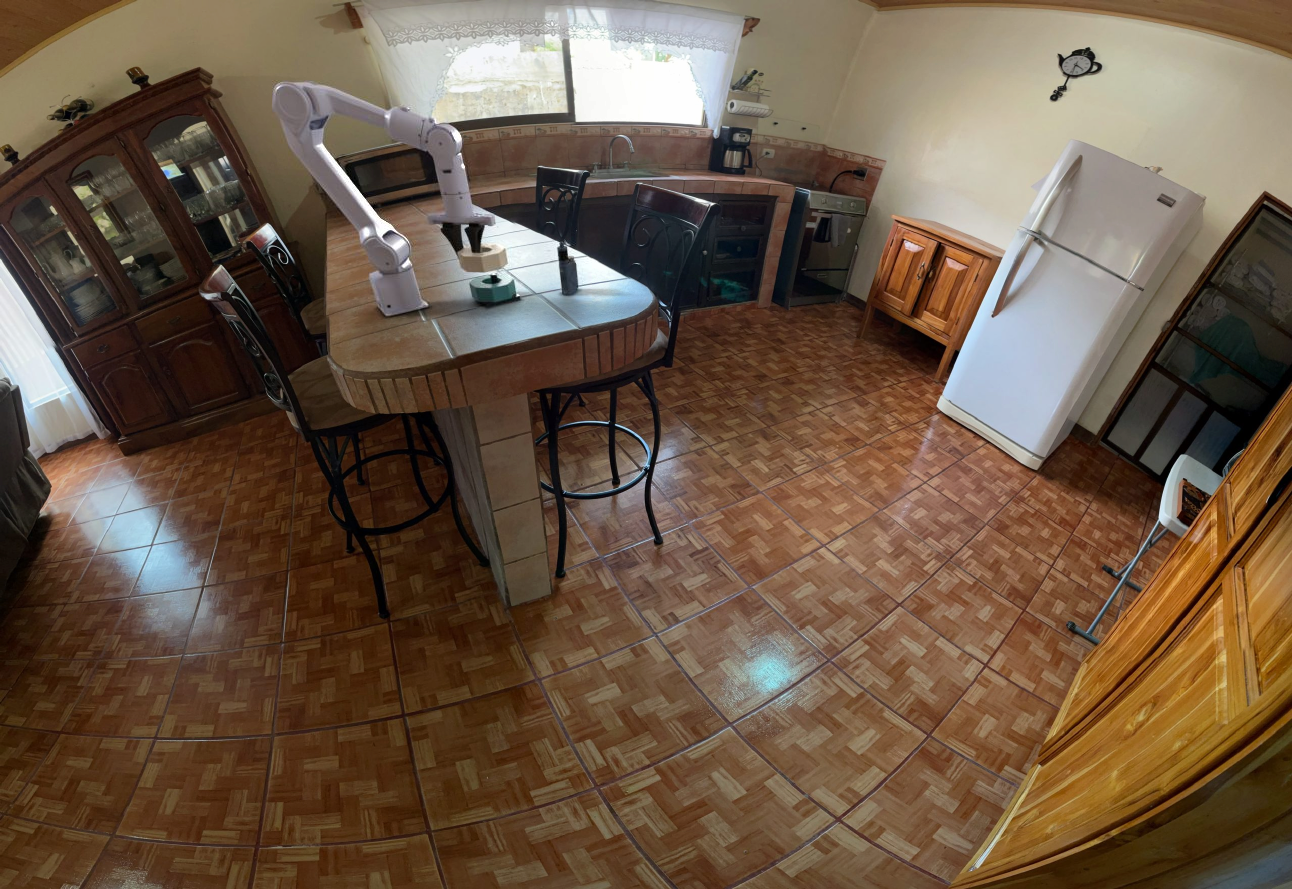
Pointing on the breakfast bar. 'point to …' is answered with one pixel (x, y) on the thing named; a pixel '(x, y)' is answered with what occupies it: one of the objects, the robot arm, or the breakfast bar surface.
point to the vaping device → (567, 271)
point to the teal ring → (492, 288)
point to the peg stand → (491, 304)
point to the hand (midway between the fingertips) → (469, 258)
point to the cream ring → (483, 258)
